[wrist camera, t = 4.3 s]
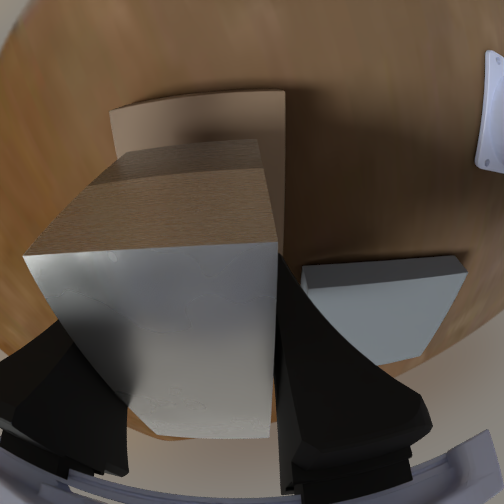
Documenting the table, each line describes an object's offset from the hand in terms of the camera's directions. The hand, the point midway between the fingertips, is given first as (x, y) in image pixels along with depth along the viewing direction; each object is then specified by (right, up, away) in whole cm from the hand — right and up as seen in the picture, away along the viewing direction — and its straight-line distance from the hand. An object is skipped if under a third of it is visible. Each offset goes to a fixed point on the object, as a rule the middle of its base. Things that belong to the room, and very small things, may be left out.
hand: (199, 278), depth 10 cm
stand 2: (+11, -4, +10) cm, 15 cm away
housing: (0, +1, +1) cm, 2 cm away
